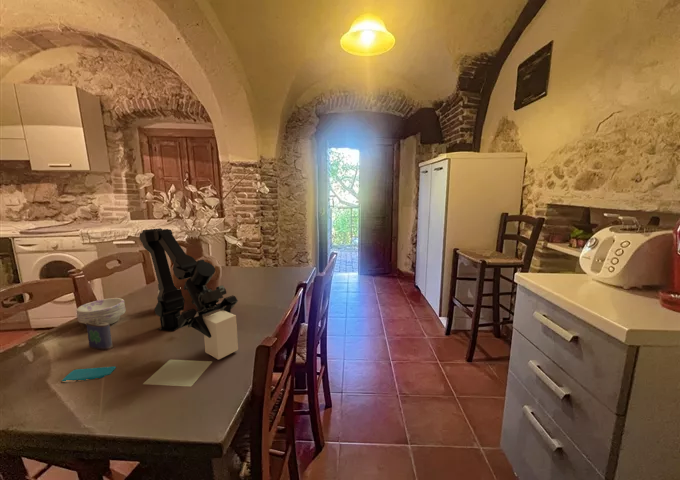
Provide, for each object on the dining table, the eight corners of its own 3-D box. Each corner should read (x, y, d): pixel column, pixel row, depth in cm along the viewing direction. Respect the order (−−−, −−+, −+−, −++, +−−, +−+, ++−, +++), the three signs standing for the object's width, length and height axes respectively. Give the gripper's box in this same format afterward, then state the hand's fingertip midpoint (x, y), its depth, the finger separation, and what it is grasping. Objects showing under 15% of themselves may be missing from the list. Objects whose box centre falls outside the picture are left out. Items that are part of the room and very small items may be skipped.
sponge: (105, 378, 85) (117, 364, 91) (58, 381, 84) (74, 367, 90) (106, 383, 86) (118, 368, 91) (60, 386, 85) (75, 371, 90)
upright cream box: (205, 352, 97) (202, 317, 95) (225, 343, 103) (222, 310, 101) (218, 359, 93) (215, 323, 91) (238, 349, 99) (236, 315, 97)
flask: (114, 347, 103) (110, 317, 102) (106, 351, 101) (101, 321, 99) (94, 343, 106) (90, 314, 104) (85, 347, 103) (81, 318, 101)
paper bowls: (100, 314, 130) (98, 296, 129) (135, 314, 129) (133, 297, 128) (68, 331, 115) (64, 311, 114) (107, 331, 114) (104, 312, 113)
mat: (142, 385, 83) (142, 383, 83) (170, 360, 95) (169, 359, 95) (191, 387, 82) (191, 386, 82) (212, 362, 94) (212, 361, 94)
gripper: (178, 287, 90) (202, 332, 85) (233, 272, 104) (255, 310, 100) (168, 306, 95) (189, 349, 91) (221, 290, 110) (241, 326, 106)
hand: (221, 332), depth 97 cm, fingers closed on upright cream box, 7 cm apart
